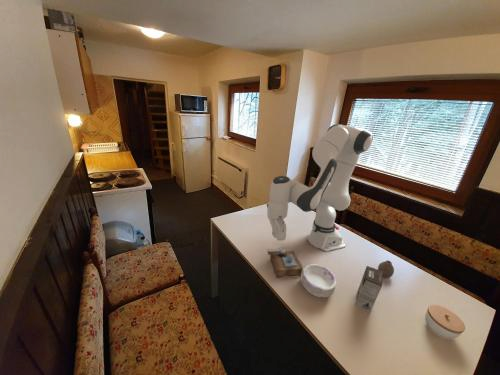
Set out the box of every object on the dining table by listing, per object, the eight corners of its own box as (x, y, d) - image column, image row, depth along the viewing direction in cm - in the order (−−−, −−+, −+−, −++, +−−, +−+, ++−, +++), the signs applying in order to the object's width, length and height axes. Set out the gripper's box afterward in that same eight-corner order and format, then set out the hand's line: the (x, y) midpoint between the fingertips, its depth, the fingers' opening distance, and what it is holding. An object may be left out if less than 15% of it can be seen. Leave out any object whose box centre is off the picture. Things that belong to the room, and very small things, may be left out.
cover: (292, 258, 107) (293, 251, 105) (296, 266, 101) (297, 259, 100) (281, 258, 106) (282, 252, 104) (285, 267, 100) (286, 260, 99)
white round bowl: (338, 288, 97) (342, 276, 93) (324, 309, 86) (327, 296, 83) (310, 270, 106) (312, 258, 103) (294, 286, 96) (296, 274, 93)
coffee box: (357, 290, 96) (366, 264, 90) (372, 297, 93) (383, 271, 87) (354, 305, 89) (364, 278, 83) (371, 313, 86) (382, 285, 80)
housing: (292, 257, 114) (293, 250, 112) (300, 275, 102) (302, 268, 100) (270, 259, 112) (271, 251, 110) (276, 277, 100) (277, 270, 98)
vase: (378, 267, 110) (383, 255, 107) (392, 275, 106) (398, 262, 103) (374, 274, 106) (379, 261, 102) (389, 282, 101) (395, 269, 98)
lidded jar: (458, 333, 80) (470, 318, 76) (451, 351, 74) (463, 335, 70) (425, 312, 88) (434, 297, 84) (416, 325, 82) (426, 310, 78)
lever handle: (283, 251, 110) (284, 247, 109) (285, 255, 107) (286, 251, 106) (267, 252, 109) (267, 248, 108) (268, 256, 106) (268, 252, 105)
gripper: (291, 223, 83) (287, 250, 88) (278, 200, 101) (275, 224, 107) (276, 224, 82) (273, 251, 87) (266, 201, 100) (263, 224, 106)
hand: (274, 235), depth 97 cm, fingers closed
